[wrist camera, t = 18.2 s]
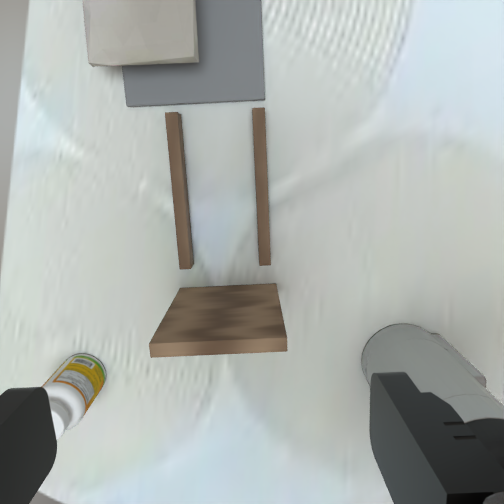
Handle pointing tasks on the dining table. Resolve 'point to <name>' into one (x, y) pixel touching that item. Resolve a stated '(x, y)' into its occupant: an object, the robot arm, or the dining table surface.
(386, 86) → the dining table surface
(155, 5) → the packaged product
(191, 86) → the charcoal pad
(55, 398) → the supplement bottle
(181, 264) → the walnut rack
